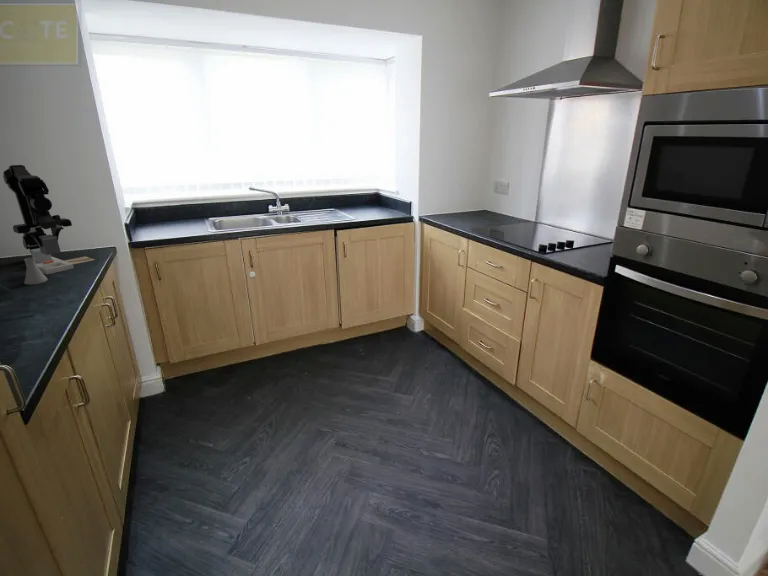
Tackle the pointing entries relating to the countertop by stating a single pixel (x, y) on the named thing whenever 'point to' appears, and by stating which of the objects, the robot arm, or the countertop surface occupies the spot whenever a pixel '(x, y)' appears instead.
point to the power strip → (54, 266)
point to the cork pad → (79, 260)
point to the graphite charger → (49, 244)
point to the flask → (33, 273)
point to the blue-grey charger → (40, 256)
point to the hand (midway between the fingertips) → (48, 245)
